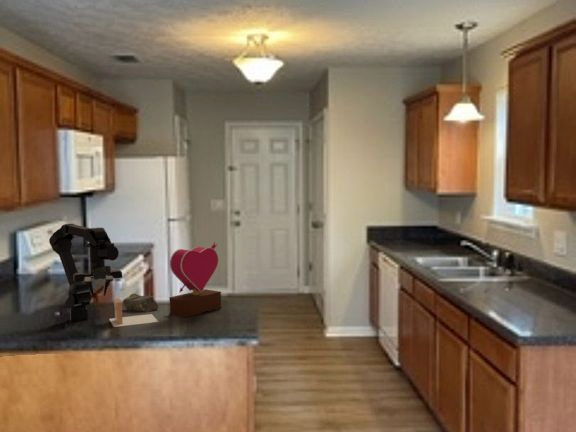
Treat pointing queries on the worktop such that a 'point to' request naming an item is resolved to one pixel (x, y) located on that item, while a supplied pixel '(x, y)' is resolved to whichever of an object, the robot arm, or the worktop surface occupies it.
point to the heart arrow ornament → (194, 281)
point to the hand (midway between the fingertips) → (98, 296)
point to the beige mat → (134, 320)
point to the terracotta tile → (118, 311)
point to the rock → (140, 303)
